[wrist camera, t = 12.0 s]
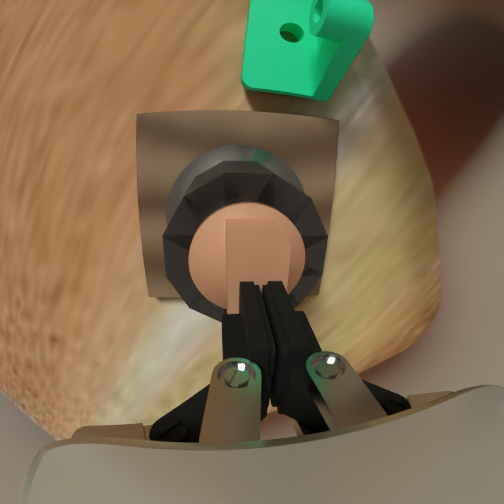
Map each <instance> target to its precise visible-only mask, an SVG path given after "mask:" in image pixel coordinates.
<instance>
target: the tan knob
mask: <svg viewBox="0 0 504 504" xmlns="http://www.w3.org/2000/svg"><path fill="white" fill-rule="evenodd" d="M304 265H305V247H304V243H303V240H302V237H301V235H300V233H299V232H298V230H297V228H296V227H295V226H294V225H293V223H292V222H291V221H290V220H289V218H288V217H286V216H285V215H284V214H283V213H282V212H280V211H279V210H277V209H276V208H274V207H272V206H269V205H266V204H263V203H258V202H249V201H247V202H237V203H232V204H229V205H226V206H224V207H222V208H220V209H218V210H216V211H214V212H213V213H211V214H210V215H209V216H208V217H207V218H206V219H205V220H204V221H203V222H202V223H201V224H200V226H199V227H198V229H197V230H196V232H195V234H194V237H193V239H192V243H191V246H190V251H189V270H190V274H191V278H192V280H193V282H194V284H195V286H196V287H197V289H198V290H199V291H200V292H201V294H202V295H203V296H204V297H205V298H207V299H208V300H209V301H211V302H212V303H214V304H215V305H217V306H219V307H222V308H225V309H227V314H239V284H240V282H242V281H254V284H255V285H259V286H260V290H261V294H262V286H263V285H267V282H268V281H282V282H283V284H284V287H285V289H286V291H287V294H289V293H290V292H291V291H292V290H293V289H294V287H295V286H296V285H297V283H298V281H299V279H300V277H301V275H302V272H303V269H304Z"/></svg>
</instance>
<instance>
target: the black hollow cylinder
mask: <svg viewBox="0 0 504 504" xmlns="http://www.w3.org/2000/svg"><path fill="white" fill-rule="evenodd" d="M247 201H249V202H258V203H263V204H266V205H269V206H272V207H274V208H276V209H277V210H279V211H280V212H282V213H283V214H284V215H285V216H286V217H288V218H289V220H290V221H291V222H292V223H293V225H294V226H295V227H296V228H297V230H298V232H299V233H300V235H301V237H302V240H303V243H304V247H305V265H304V269H303V272H302V275H301V277H300V279H299V281H298V283H297V285H296V286H295V287H294V289H293V290H292V291H291V292H290V293H289V294H288V296H289V298H290V301H291V303H292V305H293V308H294V307H296V306H298V305H299V304H300V303H301V302H302V300H303V299H304V298H305V296H306V295H307V294H308V293H309V291H310V290H311V289H312V287H313V286H314V285H315V283H316V282H317V281H318V280H319V278H320V277H321V276H322V272H323V266H324V260H325V253H326V247H327V240H328V235H327V233H326V230H325V228H324V226H323V223H322V221H321V219H320V216H319V214H318V212H317V210H316V207H315V205H314V203H313V201H312V198H311V197H309V196H308V195H306V194H305V191H304V189H303V186H302V184H301V182H300V180H299V178H298V177H297V175H296V174H295V173H294V171H293V170H292V169H291V168H290V167H289V166H288V165H287V164H286V163H285V162H284V161H283V160H282V159H280V158H279V157H278V156H276V155H274V154H272V153H270V152H269V151H266V150H263V149H261V148H257V147H253V146H249V145H240V144H236V145H225V146H220V147H217V148H214V149H211V150H209V151H207V152H205V153H203V154H201V155H200V156H198V157H197V158H195V159H194V160H193V161H192V162H191V163H190V164H188V165H187V166H186V167H185V169H184V170H183V171H182V172H181V173H180V174H179V176H178V178H177V179H176V181H175V182H174V184H173V187H172V189H171V191H170V194H169V198H168V202H167V209H166V219H167V228H166V230H165V232H164V233H163V235H162V237H163V250H164V261H165V271H166V277H167V279H168V280H169V281H170V283H171V284H172V285H173V287H174V288H175V289H176V291H177V292H178V293H179V295H180V296H181V297H182V299H183V300H184V301H185V303H186V304H187V305H188V306H189V308H191V309H193V310H195V311H197V312H200V313H202V314H204V315H206V316H209V317H211V318H213V319H215V320H218V321H220V322H222V314H227V309H225V308H222V307H219V306H217V305H215V304H214V303H212V302H211V301H209V300H208V299H207V298H205V297H204V296H203V295H202V294H201V292H200V291H199V290H198V289H197V287H196V286H195V284H194V282H193V280H192V278H191V274H190V270H189V251H190V246H191V243H192V239H193V237H194V234H195V232H196V230H197V229H198V227H199V226H200V224H201V223H202V222H203V221H204V220H205V219H206V218H207V217H208V216H209V215H210V214H211V213H213V212H214V211H216V210H218V209H220V208H222V207H224V206H226V205H229V204H232V203H237V202H247Z"/></svg>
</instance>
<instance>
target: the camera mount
mask: <svg viewBox="0 0 504 504" xmlns="http://www.w3.org/2000/svg"><path fill="white" fill-rule="evenodd" d="M373 21H374V9H373V6H372V4H371V2H370V1H368V0H250V5H249V12H248V17H247V25H246V33H245V42H244V51H243V64H242V74H241V83H242V85H243V86H244V87H245V88H246V89H248V90H251V91H260V92H268V93H276V94H283V95H290V96H296V97H302V98H308V99H313V100H318V101H326V100H329V99H330V97H331V96H332V94H333V93H334V91H335V89H336V88H337V86H338V84H339V83H340V81H341V80H342V78H343V76H344V75H345V73H346V72H347V70H348V68H349V67H350V65H351V63H352V62H353V60H354V59H355V57H356V56H357V54H358V52H359V51H360V49H361V48H362V46H363V44H364V43H365V41H366V40H367V38H368V36H369V34H370V32H371V29H372V26H373ZM282 31H286V32H290V33H292V34H293V35H294V36H295V37H296V39H297V42H296V43H292V42H288V41H286V40H284V39H283V38H282V37H281V35H280V32H282Z"/></svg>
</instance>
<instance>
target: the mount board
mask: <svg viewBox="0 0 504 504" xmlns="http://www.w3.org/2000/svg"><path fill="white" fill-rule="evenodd" d="M338 131H339V120H332V119H326V118H319V117H311V116H303V115H294V114H283V113H271V112H255V111H228V110H198V111H171V112H156V113H144V114H137V125H136V160H137V189H138V206H139V219H140V231H141V241H142V250H143V259H144V267H145V274H146V281H147V288H148V295H149V297H181V296H180V295H179V293H178V292H177V291H176V289H175V288H174V287H173V285H172V284H171V283H170V281H169V280H168V279H167V277H166V271H165V261H164V250H163V237H162V235H163V233H164V232H165V230H166V228H167V219H166V209H167V202H168V198H169V194H170V191H171V189H172V187H173V184H174V182H175V181H176V179H177V178H178V176H179V174H180V173H181V172H182V171H183V170H184V169H185V167H186V166H187V165H188V164H190V163H191V162H192V161H193V160H194V159H195V158H197V157H198V156H200V155H201V154H203V153H205V152H207V151H209V150H211V149H214V148H217V147H220V146H225V145H236V144H240V145H249V146H253V147H257V148H261V149H263V150H266V151H269V152H270V153H272V154H274V155H276V156H278V157H279V158H280V159H282V160H283V161H284V162H285V163H286V164H287V165H288V166H289V167H290V168H291V169H292V170H293V171H294V173H295V174H296V175H297V177H298V178H299V180H300V182H301V184H302V186H303V189H304V191H305V194H306V195H308V196H309V197H311V198H312V201H313V203H314V205H315V207H316V210H317V212H318V214H319V216H320V219H321V221H322V223H323V226H324V228H325V230H326V233H327V235H328V230H329V223H330V215H331V207H332V198H333V189H334V180H335V169H336V158H337V145H338ZM320 282H321V277H320V278H319V280H318V281H317V282H316V283H315V285H314V286H313V287H312V289H311V290H310V291H309V293H308V294H307V295H317V294H319V288H320Z"/></svg>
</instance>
